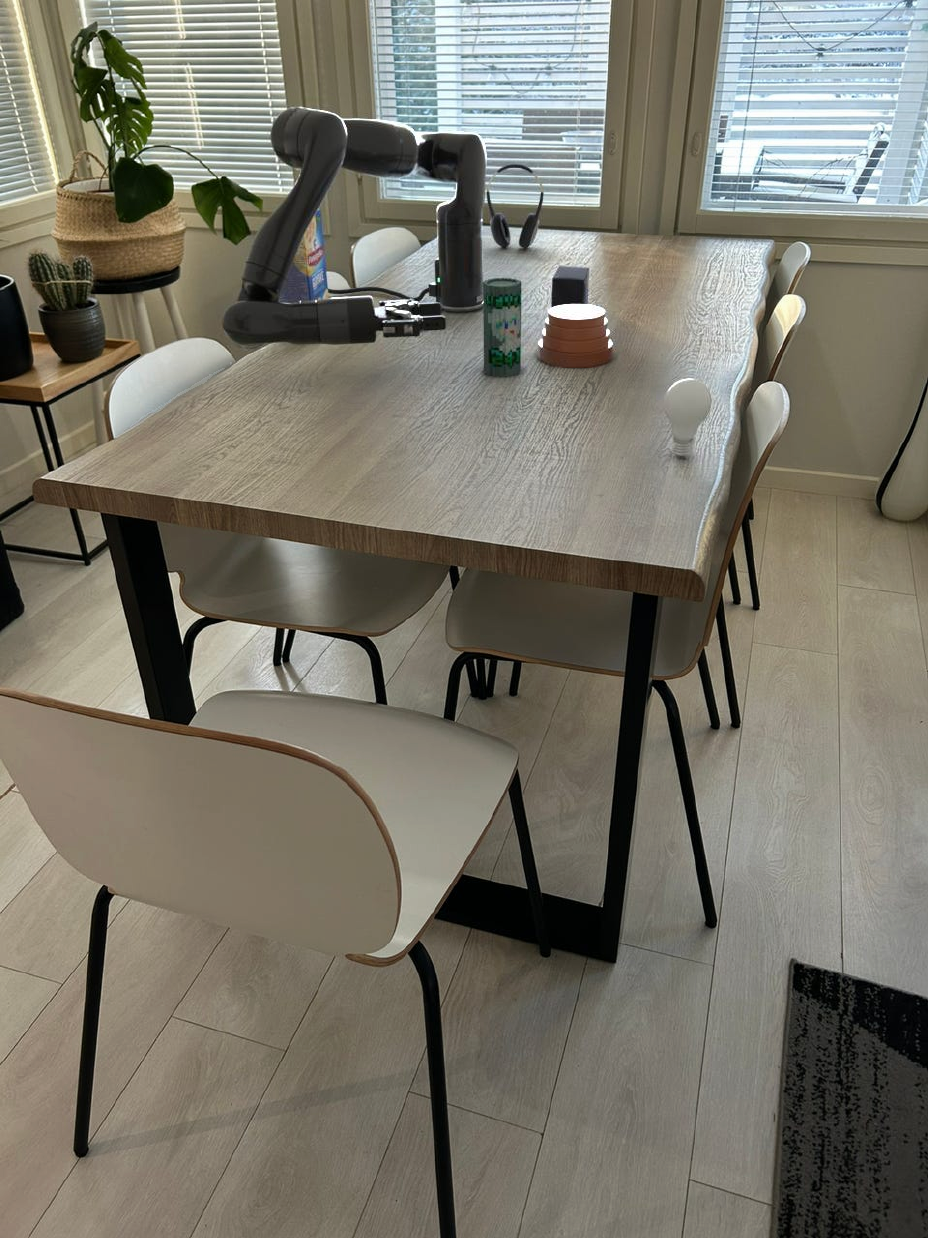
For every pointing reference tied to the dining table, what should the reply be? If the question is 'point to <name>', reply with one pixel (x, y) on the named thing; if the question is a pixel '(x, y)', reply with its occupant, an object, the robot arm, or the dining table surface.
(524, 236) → the headphones
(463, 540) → the dining table surface
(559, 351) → the orange stepped round pedestal
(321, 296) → the blue cracker box
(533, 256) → the dining table surface
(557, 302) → the small box
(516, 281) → the can
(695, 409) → the lightbulb
